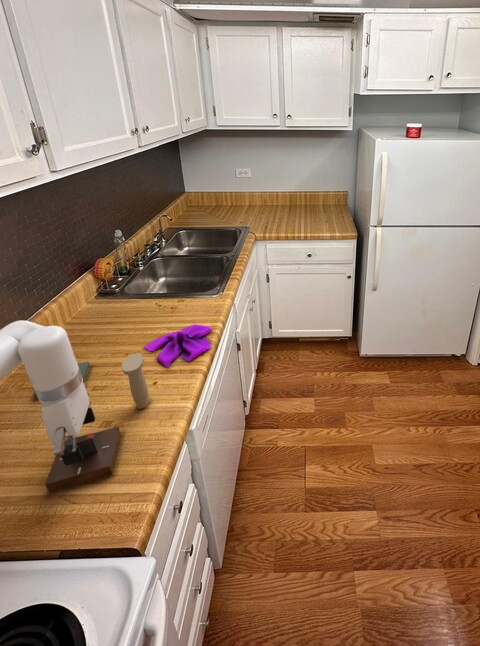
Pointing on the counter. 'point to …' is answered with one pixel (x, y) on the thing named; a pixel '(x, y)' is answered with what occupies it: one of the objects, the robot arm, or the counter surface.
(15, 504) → the counter surface
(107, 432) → the panel
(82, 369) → the button box
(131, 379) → the handle
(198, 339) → the cloth
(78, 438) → the knob
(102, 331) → the counter surface
